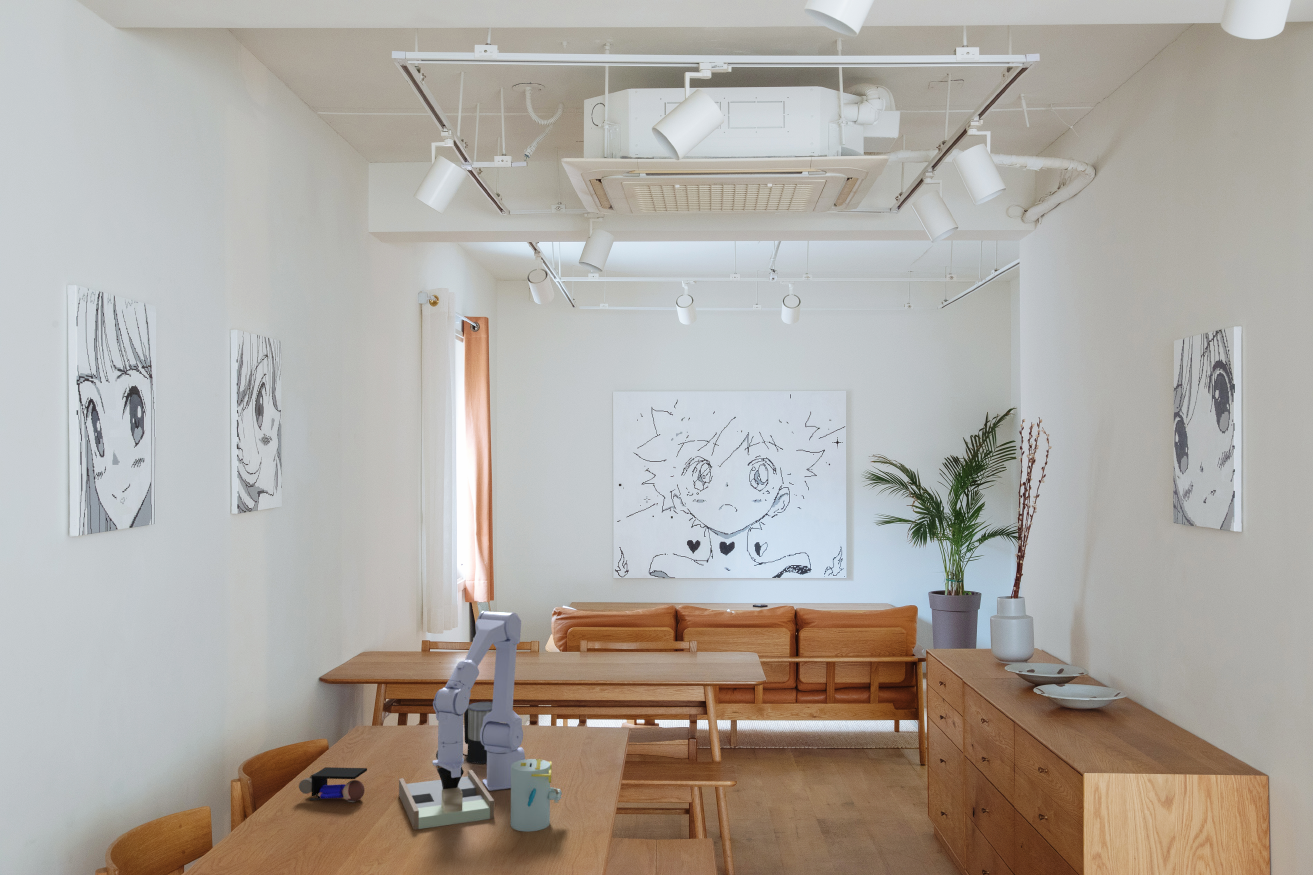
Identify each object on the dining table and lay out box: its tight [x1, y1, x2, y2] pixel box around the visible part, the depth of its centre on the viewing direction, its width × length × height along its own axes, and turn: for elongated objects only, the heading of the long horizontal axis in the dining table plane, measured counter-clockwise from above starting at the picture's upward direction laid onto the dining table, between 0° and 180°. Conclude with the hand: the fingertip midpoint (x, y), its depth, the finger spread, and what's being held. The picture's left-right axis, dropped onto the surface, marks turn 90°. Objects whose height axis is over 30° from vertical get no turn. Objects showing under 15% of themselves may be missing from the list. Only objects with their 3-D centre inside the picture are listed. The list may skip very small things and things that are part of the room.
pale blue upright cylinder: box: [510, 758, 563, 832], centre depth 209 cm, size 20×12×13 cm, turn 6°
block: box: [441, 787, 463, 813], centre depth 211 cm, size 4×4×4 cm
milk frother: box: [435, 701, 493, 765], centre depth 255 cm, size 14×16×15 cm
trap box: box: [398, 769, 495, 831], centre depth 219 cm, size 18×24×4 cm
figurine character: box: [298, 766, 368, 803], centre depth 224 cm, size 7×8×15 cm
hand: (449, 799), depth 214 cm, fingers closed
